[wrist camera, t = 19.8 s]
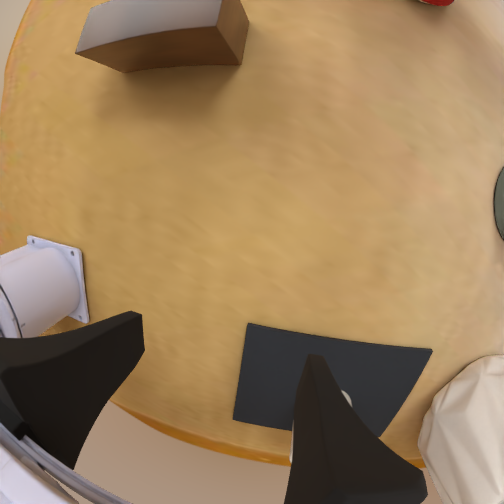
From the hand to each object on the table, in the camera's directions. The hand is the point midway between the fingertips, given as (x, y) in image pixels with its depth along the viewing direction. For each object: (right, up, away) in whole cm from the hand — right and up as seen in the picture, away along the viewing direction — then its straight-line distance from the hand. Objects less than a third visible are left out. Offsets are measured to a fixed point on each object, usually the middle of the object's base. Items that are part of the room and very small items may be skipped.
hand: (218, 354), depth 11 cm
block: (-4, +20, +5) cm, 21 cm away
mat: (+8, -8, +11) cm, 16 cm away
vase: (+25, -11, +9) cm, 29 cm away
